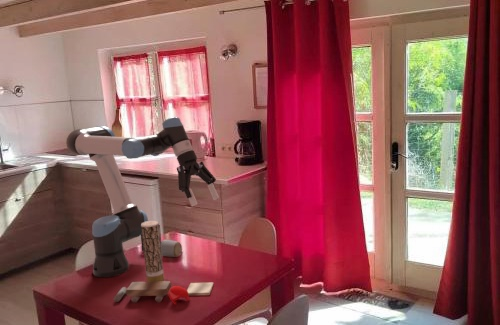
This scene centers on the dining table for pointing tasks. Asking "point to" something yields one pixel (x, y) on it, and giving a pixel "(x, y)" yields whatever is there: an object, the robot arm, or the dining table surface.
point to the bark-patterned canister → (152, 251)
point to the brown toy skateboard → (145, 290)
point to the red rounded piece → (178, 293)
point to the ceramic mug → (171, 248)
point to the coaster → (200, 288)
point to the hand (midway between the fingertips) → (206, 202)
